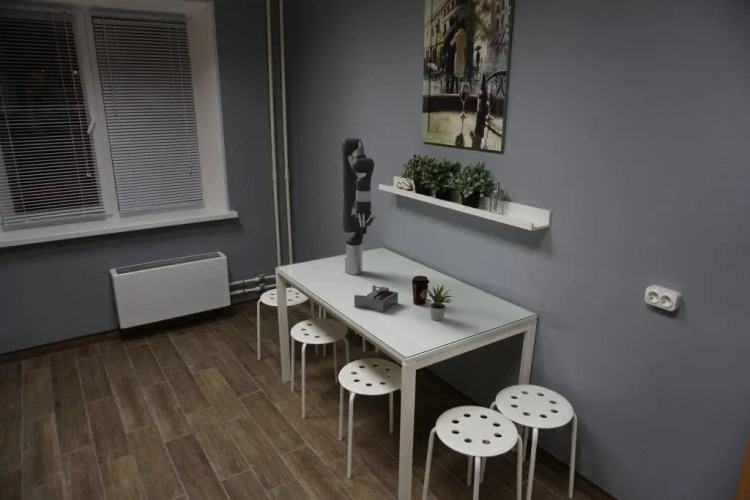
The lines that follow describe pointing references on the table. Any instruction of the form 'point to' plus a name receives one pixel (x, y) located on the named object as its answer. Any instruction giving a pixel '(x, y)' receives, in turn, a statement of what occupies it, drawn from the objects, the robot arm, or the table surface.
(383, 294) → the block
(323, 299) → the table surface
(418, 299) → the coffee cup
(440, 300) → the house plant
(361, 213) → the robot arm
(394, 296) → the coupler dock
